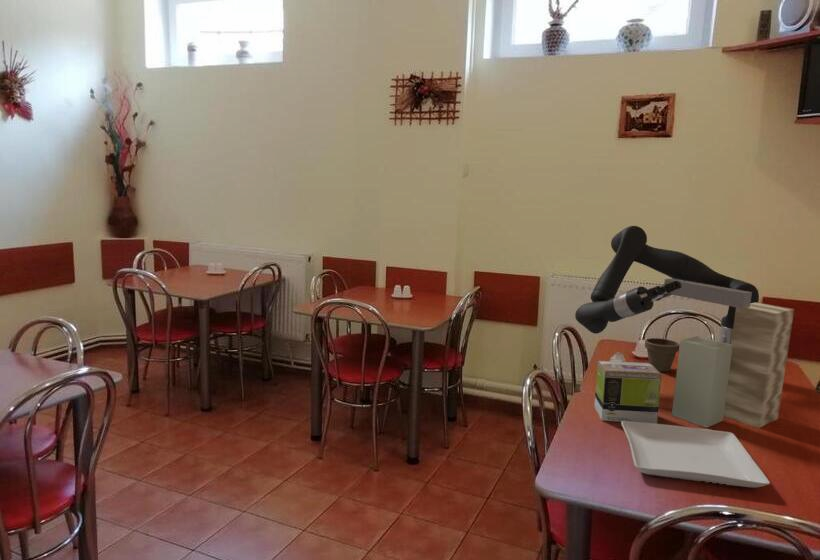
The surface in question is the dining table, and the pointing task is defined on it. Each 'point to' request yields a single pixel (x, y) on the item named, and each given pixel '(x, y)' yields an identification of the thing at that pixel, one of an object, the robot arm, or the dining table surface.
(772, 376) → the tall stand
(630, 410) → the tea box
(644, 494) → the dining table surface
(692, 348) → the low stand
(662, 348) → the flower pot
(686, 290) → the metal bar
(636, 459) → the square plate
